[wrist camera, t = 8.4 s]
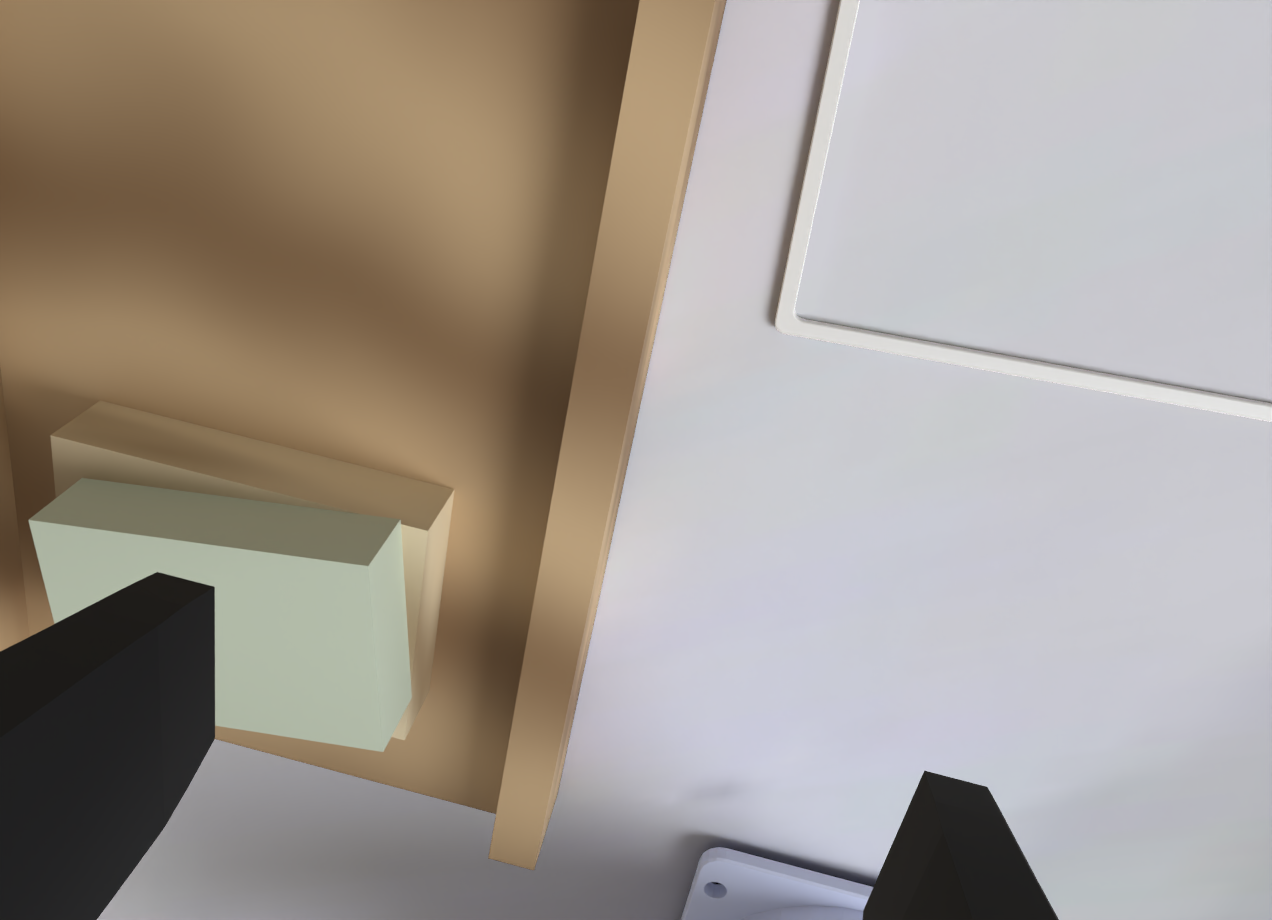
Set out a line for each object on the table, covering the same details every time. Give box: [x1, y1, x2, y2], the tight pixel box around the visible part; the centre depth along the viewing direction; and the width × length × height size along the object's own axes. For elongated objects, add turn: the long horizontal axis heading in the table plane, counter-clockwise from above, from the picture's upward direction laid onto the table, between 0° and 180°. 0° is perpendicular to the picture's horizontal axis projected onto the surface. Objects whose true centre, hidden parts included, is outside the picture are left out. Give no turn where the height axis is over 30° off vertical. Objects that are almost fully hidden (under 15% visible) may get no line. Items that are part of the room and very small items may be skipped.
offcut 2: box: [28, 478, 412, 752], centre depth 20 cm, size 4×6×2 cm, turn 87°
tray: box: [0, 0, 726, 870], centre depth 19 cm, size 22×13×2 cm, turn 169°
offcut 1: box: [50, 401, 454, 740], centre depth 21 cm, size 5×7×2 cm
